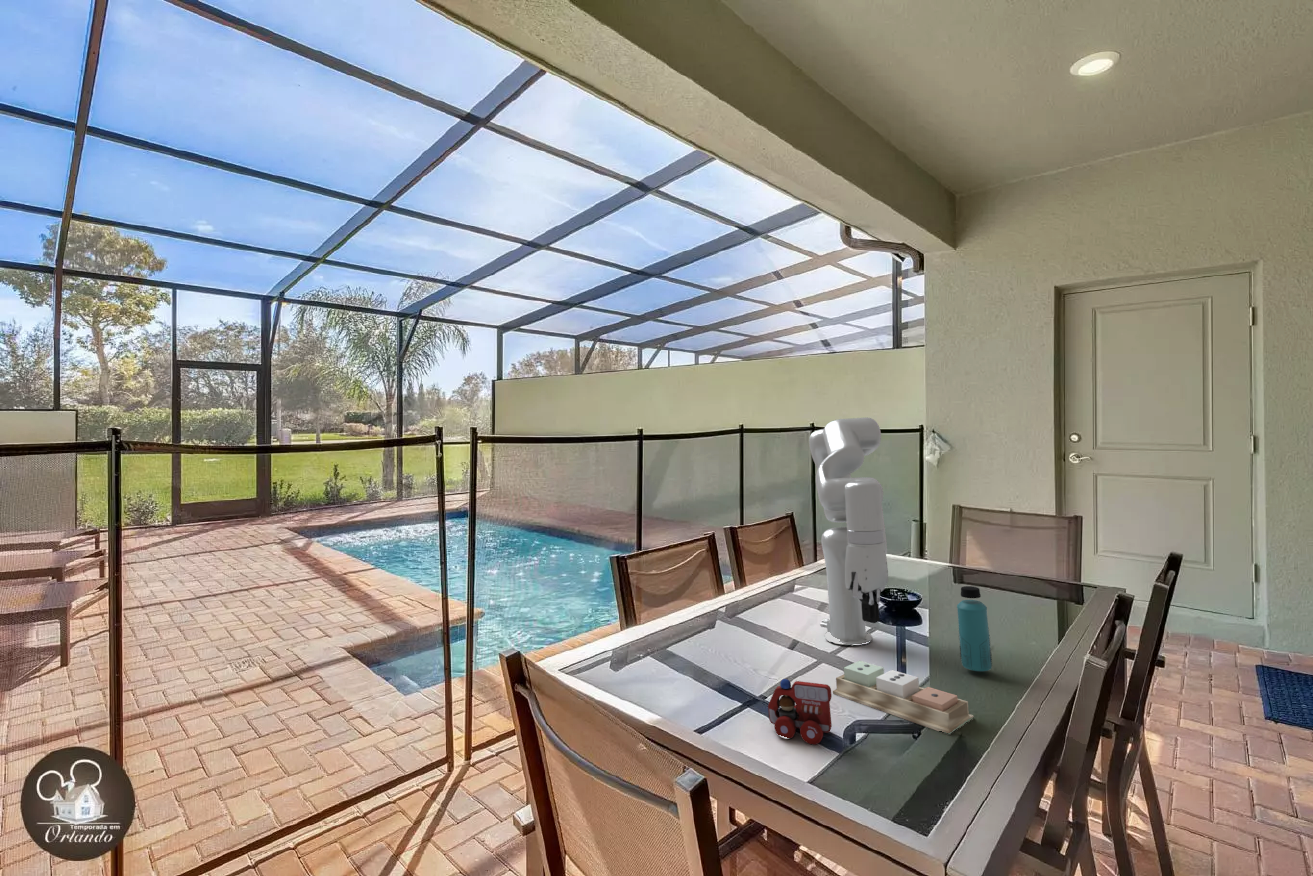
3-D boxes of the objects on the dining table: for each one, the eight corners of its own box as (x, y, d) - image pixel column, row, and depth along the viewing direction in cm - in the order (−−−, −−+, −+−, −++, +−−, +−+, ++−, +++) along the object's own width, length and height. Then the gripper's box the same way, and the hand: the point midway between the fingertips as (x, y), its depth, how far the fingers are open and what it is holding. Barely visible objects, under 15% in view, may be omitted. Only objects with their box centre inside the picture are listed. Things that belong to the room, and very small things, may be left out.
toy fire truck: (776, 721, 119) (773, 669, 119) (838, 732, 112) (834, 678, 113) (765, 736, 113) (761, 682, 113) (829, 749, 106) (826, 691, 107)
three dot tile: (877, 694, 123) (875, 677, 123) (893, 686, 126) (891, 669, 126) (903, 703, 118) (902, 685, 118) (919, 694, 122) (918, 677, 122)
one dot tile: (913, 713, 116) (912, 695, 116) (929, 704, 120) (927, 686, 120) (943, 723, 112) (941, 704, 112) (958, 713, 115) (957, 695, 115)
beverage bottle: (997, 678, 133) (990, 590, 133) (965, 678, 134) (959, 590, 134) (987, 667, 139) (981, 583, 139) (957, 667, 140) (951, 584, 141)
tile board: (832, 693, 130) (831, 678, 130) (858, 681, 135) (857, 666, 135) (949, 735, 109) (948, 716, 109) (973, 718, 115) (972, 701, 115)
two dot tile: (844, 683, 129) (843, 667, 129) (860, 676, 133) (859, 660, 133) (868, 691, 124) (867, 674, 124) (884, 683, 128) (883, 667, 128)
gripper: (869, 531, 135) (874, 610, 135) (830, 541, 126) (835, 626, 125) (899, 533, 129) (905, 616, 129) (861, 544, 120) (867, 633, 119)
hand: (871, 621), depth 127 cm, fingers closed
